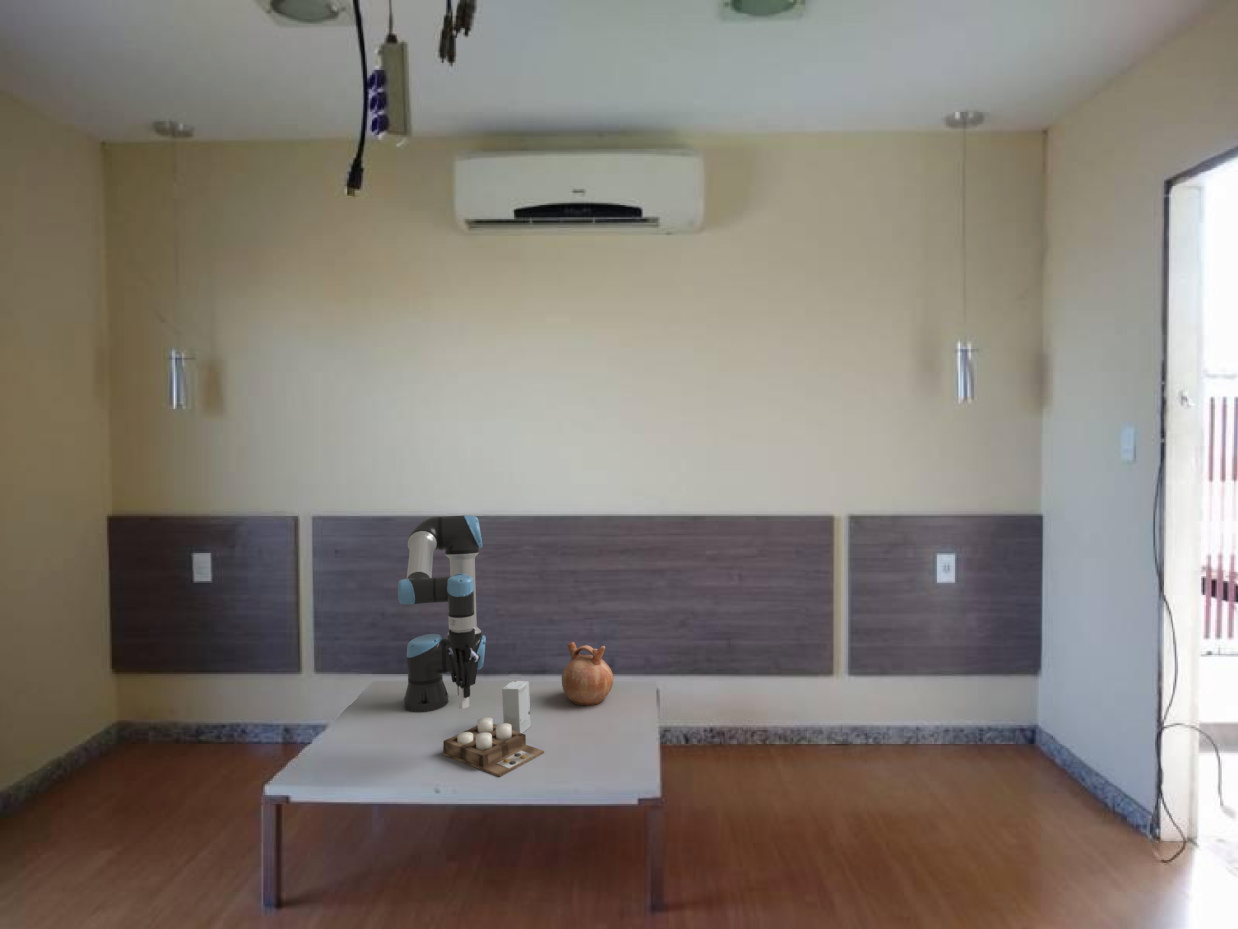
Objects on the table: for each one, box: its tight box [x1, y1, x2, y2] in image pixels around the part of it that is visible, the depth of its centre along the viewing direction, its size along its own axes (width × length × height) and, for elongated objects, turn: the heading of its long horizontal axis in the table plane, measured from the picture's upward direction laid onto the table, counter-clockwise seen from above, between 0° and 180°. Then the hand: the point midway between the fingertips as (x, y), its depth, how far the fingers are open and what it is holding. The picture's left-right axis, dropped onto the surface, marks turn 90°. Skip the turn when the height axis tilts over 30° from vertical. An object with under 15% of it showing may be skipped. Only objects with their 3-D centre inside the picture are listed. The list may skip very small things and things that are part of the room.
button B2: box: [496, 723, 512, 742], centre depth 225 cm, size 5×5×4 cm
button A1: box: [456, 731, 473, 745], centre depth 224 cm, size 5×5×4 cm
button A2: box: [477, 716, 494, 733], centre depth 230 cm, size 5×5×4 cm
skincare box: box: [501, 680, 531, 734], centre depth 239 cm, size 8×6×15 cm
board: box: [441, 723, 545, 778], centre depth 223 cm, size 24×18×4 cm
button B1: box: [476, 733, 492, 752], centre depth 219 cm, size 5×5×4 cm
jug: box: [561, 641, 614, 707], centre depth 264 cm, size 18×18×20 cm
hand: (464, 707), depth 223 cm, fingers closed
